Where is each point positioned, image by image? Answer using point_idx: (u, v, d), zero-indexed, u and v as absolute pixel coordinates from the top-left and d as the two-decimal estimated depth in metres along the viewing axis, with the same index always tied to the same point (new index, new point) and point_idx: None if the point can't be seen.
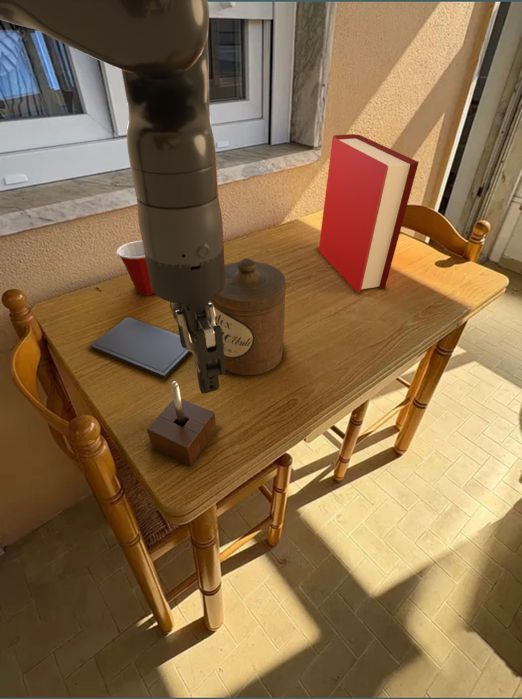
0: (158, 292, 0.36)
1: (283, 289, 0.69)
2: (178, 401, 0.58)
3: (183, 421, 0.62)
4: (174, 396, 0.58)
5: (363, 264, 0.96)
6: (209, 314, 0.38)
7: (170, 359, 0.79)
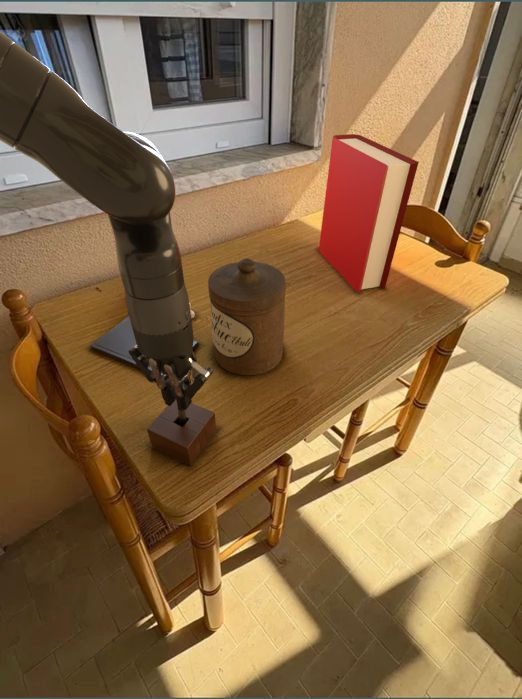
0: (158, 356, 0.48)
1: (283, 289, 0.69)
2: None
3: (184, 420, 0.62)
4: None
5: (363, 264, 0.96)
6: (194, 355, 0.51)
7: None
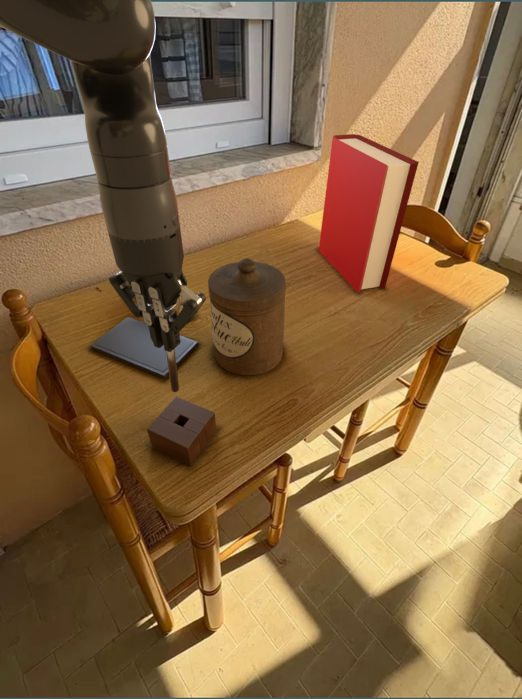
0: (141, 270, 0.40)
1: (283, 289, 0.69)
2: None
3: (174, 366, 0.54)
4: None
5: (363, 264, 0.96)
6: (184, 276, 0.44)
7: None
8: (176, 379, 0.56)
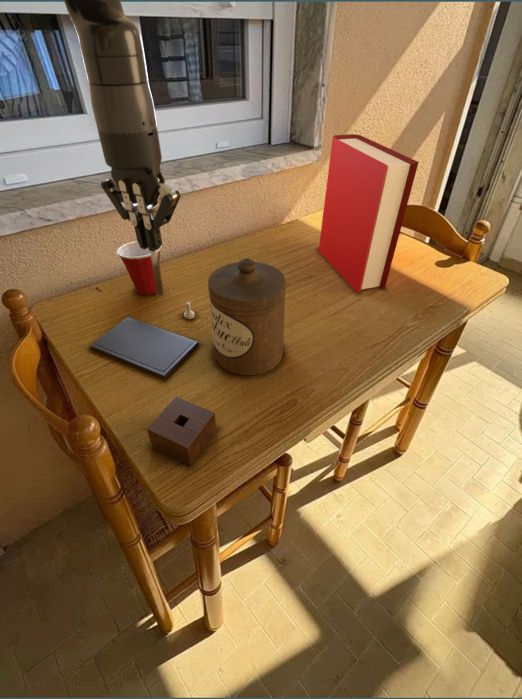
0: (124, 163, 0.49)
1: (283, 289, 0.69)
2: None
3: (158, 269, 0.63)
4: None
5: (363, 264, 0.96)
6: (162, 175, 0.53)
7: (170, 359, 0.79)
8: (160, 282, 0.65)
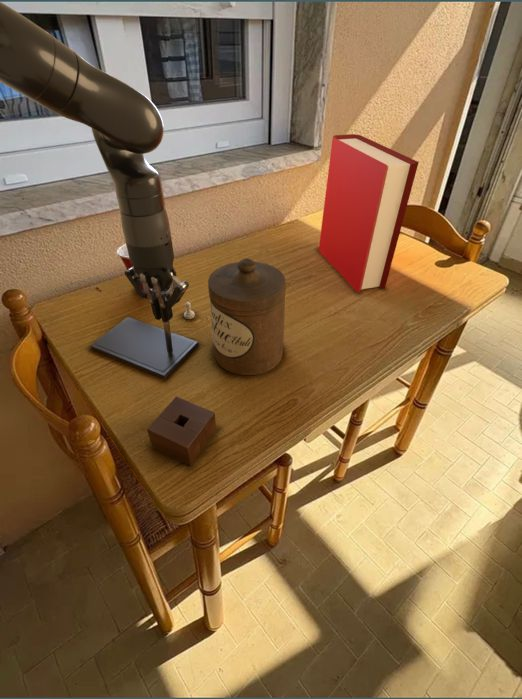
0: (146, 266, 0.63)
1: (283, 289, 0.69)
2: None
3: (169, 334, 0.77)
4: None
5: (363, 264, 0.96)
6: (174, 270, 0.67)
7: (170, 359, 0.79)
8: (170, 343, 0.79)
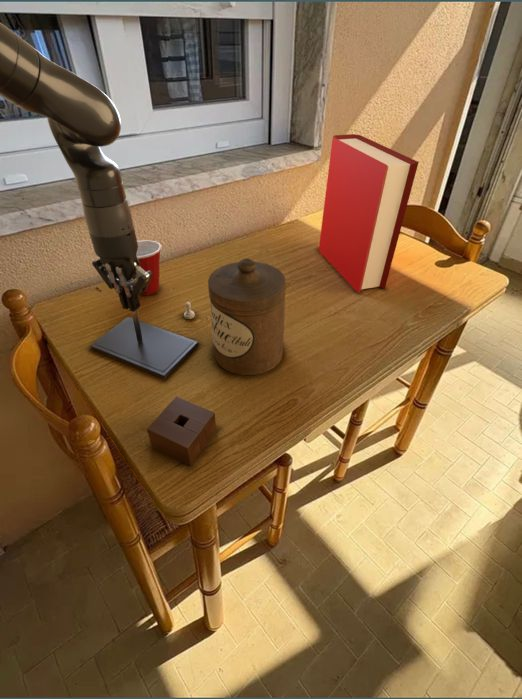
0: (109, 256, 0.66)
1: (283, 289, 0.69)
2: None
3: (138, 322, 0.80)
4: None
5: (363, 264, 0.96)
6: (138, 260, 0.69)
7: (170, 359, 0.79)
8: (140, 332, 0.81)
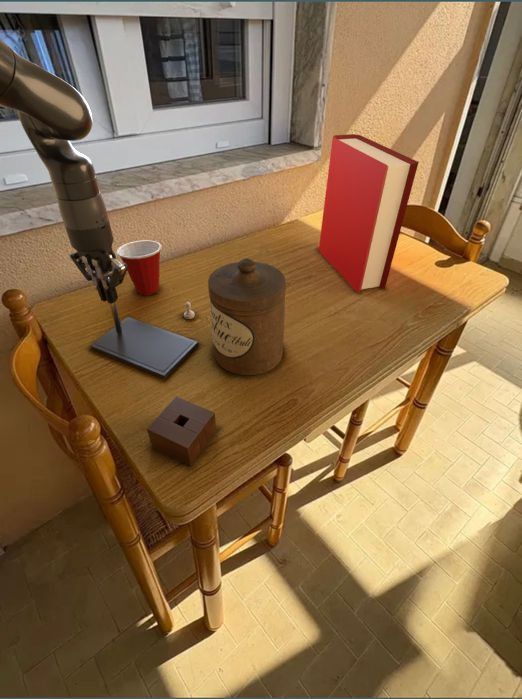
0: (84, 248, 0.68)
1: (283, 289, 0.69)
2: None
3: (116, 314, 0.82)
4: None
5: (363, 264, 0.96)
6: (114, 253, 0.71)
7: (170, 359, 0.79)
8: (119, 324, 0.83)
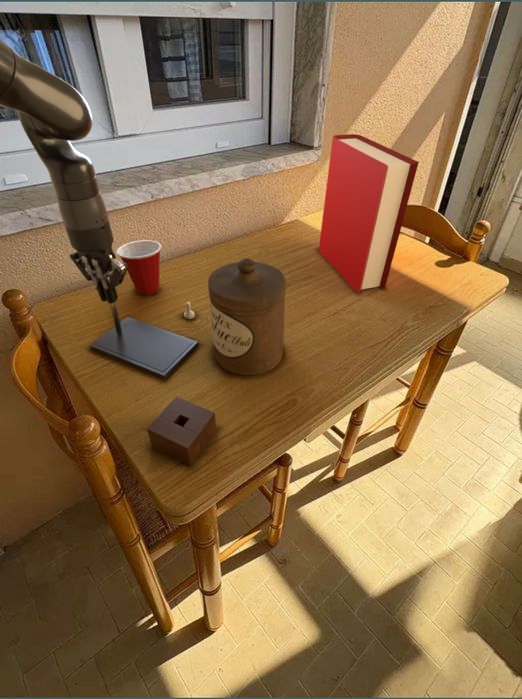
0: (84, 248, 0.68)
1: (283, 289, 0.69)
2: None
3: (116, 314, 0.82)
4: None
5: (363, 264, 0.96)
6: (114, 253, 0.71)
7: (170, 359, 0.79)
8: (119, 324, 0.83)
